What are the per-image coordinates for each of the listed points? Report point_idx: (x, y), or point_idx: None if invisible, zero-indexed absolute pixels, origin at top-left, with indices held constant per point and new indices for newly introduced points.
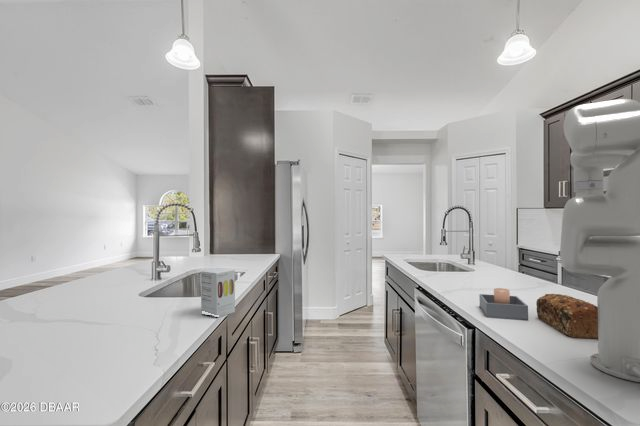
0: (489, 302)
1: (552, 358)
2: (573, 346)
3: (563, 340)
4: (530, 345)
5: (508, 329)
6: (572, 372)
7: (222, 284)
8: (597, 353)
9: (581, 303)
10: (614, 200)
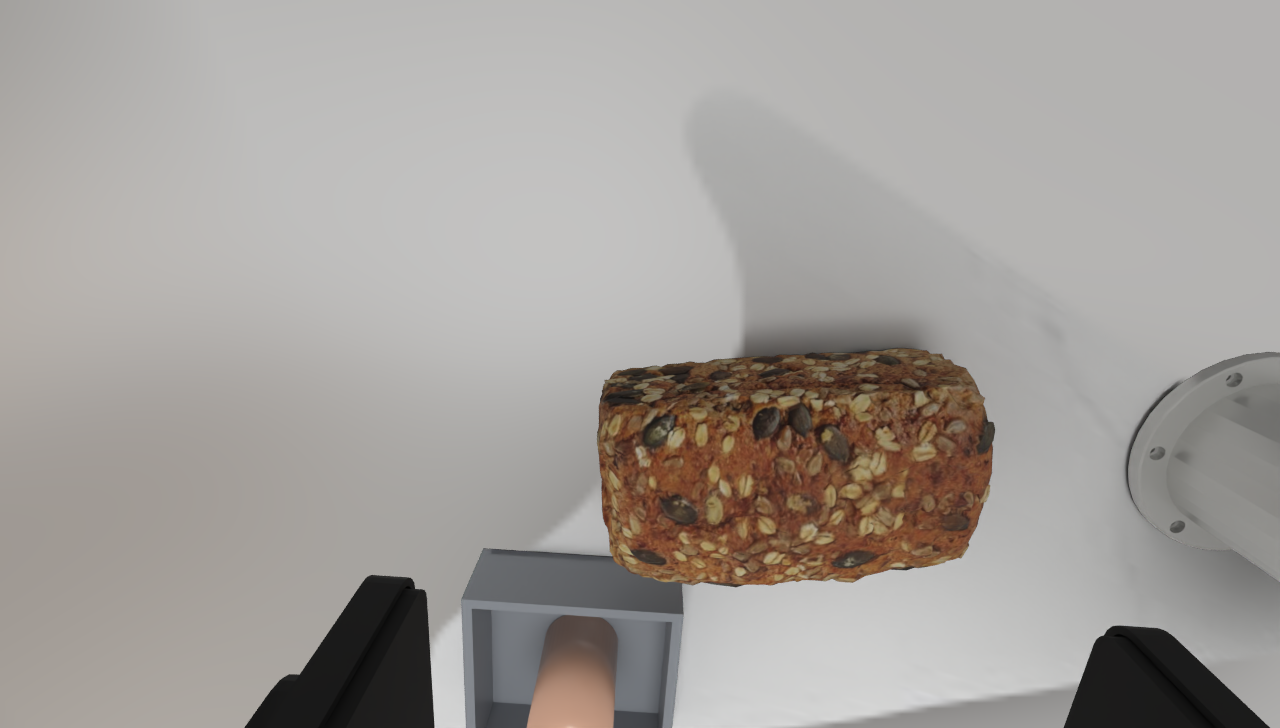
0: (487, 687)
1: None
2: (1010, 516)
3: None
4: (1004, 657)
5: (826, 676)
6: (1235, 620)
7: None
8: (1142, 498)
9: (945, 506)
10: None
